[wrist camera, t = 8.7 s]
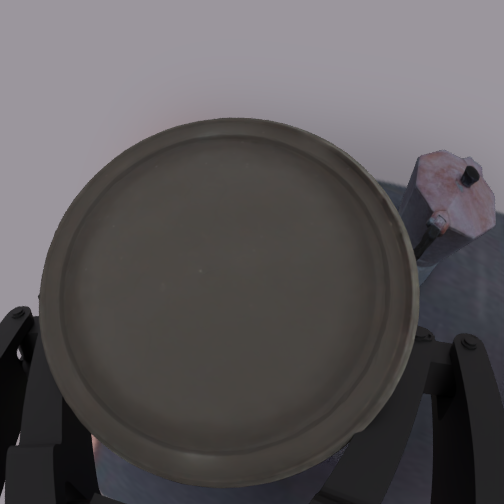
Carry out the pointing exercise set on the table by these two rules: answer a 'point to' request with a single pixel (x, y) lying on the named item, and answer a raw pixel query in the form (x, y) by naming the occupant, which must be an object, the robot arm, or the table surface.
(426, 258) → the moka pot
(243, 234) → the coffee can
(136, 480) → the table surface
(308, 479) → the table surface
